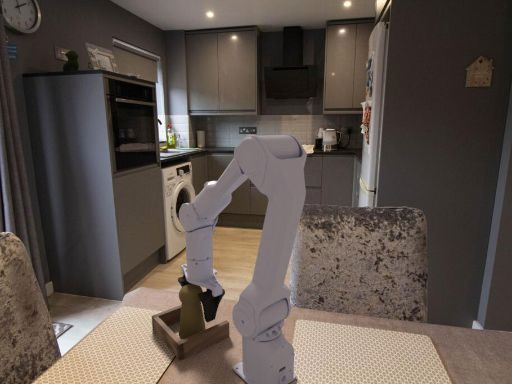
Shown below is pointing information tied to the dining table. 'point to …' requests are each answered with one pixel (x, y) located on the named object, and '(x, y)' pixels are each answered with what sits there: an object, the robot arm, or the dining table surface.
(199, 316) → the olive pawn shape
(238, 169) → the robot arm
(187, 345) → the open u-shaped frame
